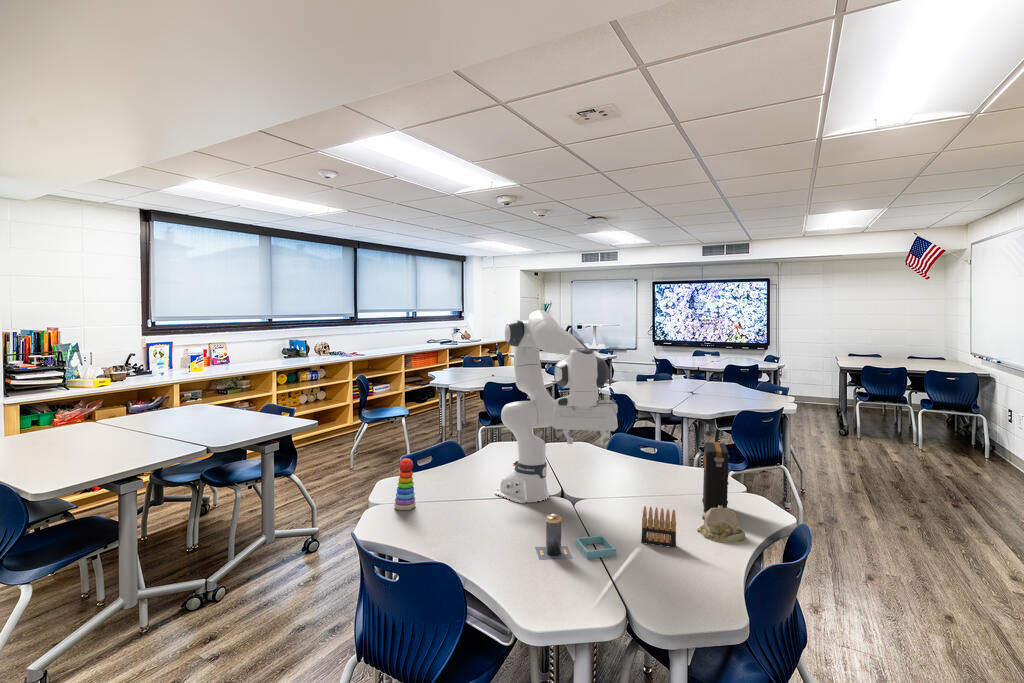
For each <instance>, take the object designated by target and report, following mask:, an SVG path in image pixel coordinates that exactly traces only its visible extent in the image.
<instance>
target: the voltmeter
mask: <svg viewBox="0 0 1024 683" xmlns="http://www.w3.org/2000/svg"><path fill="white" fill-rule="evenodd" d="M703 450H704V451H703V452H704V454H703V486H702V487H703V489H702V493H703V494H702V500H701V502H702V504H703V514H705V513H706V512H707V511H708V510H710V508H718V505H719V506H721V505H722V506H723V508H728V504H729V500H728V488H729V484H730V483H729V459H730V454H729V450H728V448H727V445H726V443H724V442H722V443H720V441H719V442H718V441H713V442H708V441H707V442H705V443H704V445H703Z"/></svg>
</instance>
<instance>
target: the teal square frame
mask: <svg viewBox="0 0 1024 683" xmlns="http://www.w3.org/2000/svg"><path fill="white" fill-rule="evenodd" d="M574 543H575V544H574V545H575V547H577V550H579V551H580V553H582V555H583V556H584V557H585V558H586V560H587V559H596V558H597V559H598V558H604V557H613V556H614V557H615V556H616V555H617V548H616V547H615V546H614V545H613V544H612V543H611V542H610V541H609V540H608V539H607V538H606V537H605V535H603V534H602V535H593V536H582V537H575V539H574ZM592 544H602V545H603V546H604V548H600V549H599V548H598V549H592V550H591V549H590V550H588V549H587V548H586V547H585V545H592Z"/></svg>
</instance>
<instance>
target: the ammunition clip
mask: <svg viewBox="0 0 1024 683" xmlns="http://www.w3.org/2000/svg"><path fill="white" fill-rule="evenodd" d="M647 511H648V512H647ZM653 514H654V515H653ZM670 516H671V518H670ZM676 516H677V514H676V510H675V509H674V508H673V509H672V511H671V513H670V509H669V508H666V512H665V510H664V508H663V507H661V508H660V512H659V509H658V507H657V506H656V507H655V509H654V513H653V507H652V506H650V507H649V510H647V507H646V505H644V507H643V509H642V518H641V540H640V541H641V542H640V543H641V544H644V543H647V544H646V545H651V544H654V545H653V546H659V545H662V546H661V547H666V546H669V547H668V548H673V547H676V548H677V519H676ZM653 517H654V518H653Z"/></svg>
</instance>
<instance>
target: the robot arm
mask: <svg viewBox="0 0 1024 683" xmlns="http://www.w3.org/2000/svg"><path fill="white" fill-rule="evenodd" d="M504 338H505V341H506V343H507V345H508V346H511V347H514V353H513V362H514V364H513V365H514V378H515V379H514V380H515V386H516V387H517V389H518V390H519V391H521V392H522V393H525V394H526V395H527V396H528V398H529V400H520V401H513V402H509V403H506V404H505V405H504V406H503V407H502V409H501V413H500V418H501V422H502V423H503V425H504V426H505V427H506V428H507V429H508V430H509V431H511V433H512V434H513V435H514V437H515V439H516V442H517V453H518V454H517V455H518V459H517V460H516V461H515V462H513V463H512V467H514V469H513V470H511V471H510V472H508V473H507V474H506V475H504V476H503V478H502V479H501V481H500V486H499V487H497V488H496V489H495V490H494V495H495V494H496V496H498V495H499V496H498V497H501V498H503V497H504V499H506V498H507V500H509V499H510V500H509V501H512V502H516V503H518V502H519V503H518V504H527V503H538V502H537V501H540V502H543V501H542V500H544V501H546V500H548V499H549V498H550V492H549V490H548V485H547V470H548V469H547V468H548V467H547V461H546V457H547V456H546V453H547V452H546V451H547V450H546V448H547V446H546V443H545V441H544V439H542V438H541V437H539V436H537V435H535V434H534V431H533V430H534V429H537V428H538V429H539V428H549V427H552V428H553V429H554V430H562V431H563V434H564V435H565V437H566V443H567V445H573V444H574V437H571V436H570V434H569V433H570V431H571V430H572V431H599V433H600V435H601V436H600V438H598V439H596V445H597V446H603V445H604V438H605V437H606V435H607V432H615V431H616V430H617V429H618V427H619V425H618V416H617V414H618V413H619V412H618V411H619V409H618V408H619V406H618V404H617V403H616V402H615V401H613V400H610V399H609V400H608V399H607V400H604V399H603V400H602V399H599V390H598V389H601V388H602V387H603V386H605V385H606V383H607V382H608V380H609V379H610V368H609V366H608V364H607V362H606V361H605V360H604V359H603V358H602V357H599V356H597V355H596V353H595V350H593V349H590V348H588V347H587V346H586V344H584V343H583V342H582V341H581V340H580V339H579V338H578V337H577V336H575V335H573V334H572V333H569V332H568V331H566V330H565V329H564V328H563V327H562V326H561V325H559V323H558V322H557V321H556V320H555V318H554V317H553V316H552V315H551V314H549V313H548V312H547V311H545V310H541V309H538V310H535V311H533V312H531V313H530V315H529V316H528V318H527V319H521V320H520V319H515V320H511V321H508V322H507V324H506V325H505V327H504ZM540 351H542V352H545V353H548V354H558V355H565V356H566V357H565V358H563V359H561V360H559V361H558V362H556V364H555V366H554V367H553V379H554V382H555V383H556V384H557V385H558V386H559V387H561V388H565V389H569V394H568V395H567V394H566V395H563V396H562V397H559V398H556V399H554V398H553V397H552V396H551V394H550V393H549V392H548V390H547V389H546V387H545V386H546V385H545V383H544V378H543V372H542V362H541V357H540ZM547 498H548V499H547ZM545 499H546V500H545ZM526 502H527V503H526Z"/></svg>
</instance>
